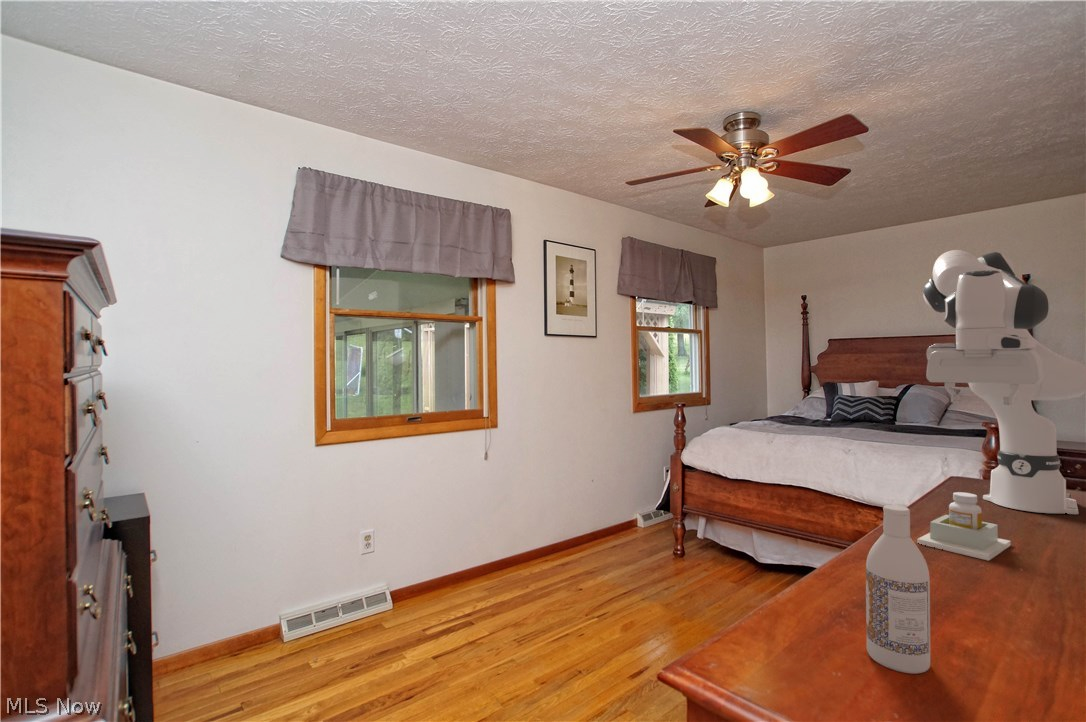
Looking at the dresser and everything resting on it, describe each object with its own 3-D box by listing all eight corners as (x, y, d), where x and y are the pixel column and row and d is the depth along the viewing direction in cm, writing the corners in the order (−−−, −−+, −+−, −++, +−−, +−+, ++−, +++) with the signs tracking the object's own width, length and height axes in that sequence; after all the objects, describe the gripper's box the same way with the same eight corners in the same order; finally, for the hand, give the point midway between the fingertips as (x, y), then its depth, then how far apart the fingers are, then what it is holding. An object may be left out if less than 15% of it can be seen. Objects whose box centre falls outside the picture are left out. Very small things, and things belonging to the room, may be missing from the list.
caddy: (942, 530, 120) (942, 511, 120) (1010, 545, 111) (1010, 524, 111) (917, 543, 112) (917, 522, 112) (988, 560, 102) (988, 537, 102)
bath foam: (871, 640, 74) (869, 498, 74) (932, 657, 70) (931, 506, 70) (862, 662, 69) (860, 508, 69) (928, 682, 64) (926, 518, 64)
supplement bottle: (969, 536, 114) (969, 491, 114) (988, 545, 108) (988, 497, 108) (943, 536, 114) (942, 491, 114) (961, 544, 109) (960, 497, 109)
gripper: (921, 343, 125) (921, 401, 125) (1037, 340, 108) (1037, 407, 108) (931, 343, 129) (932, 400, 129) (1045, 340, 112) (1046, 405, 112)
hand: (981, 403), depth 118 cm, fingers open, 8 cm apart
